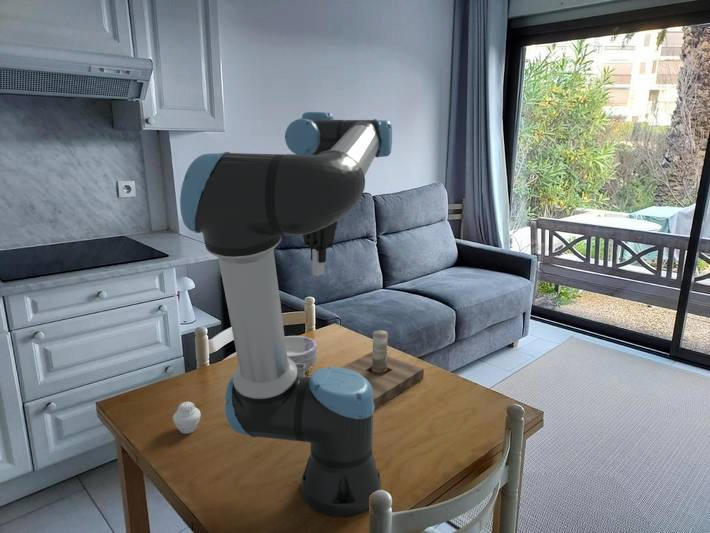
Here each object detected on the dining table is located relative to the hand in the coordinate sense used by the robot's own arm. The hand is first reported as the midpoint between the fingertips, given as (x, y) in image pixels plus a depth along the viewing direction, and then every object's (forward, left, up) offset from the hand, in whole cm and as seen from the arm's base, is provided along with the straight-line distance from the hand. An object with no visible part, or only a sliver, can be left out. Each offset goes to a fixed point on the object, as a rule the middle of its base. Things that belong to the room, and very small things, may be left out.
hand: (318, 274), depth 125 cm
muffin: (-33, +10, -33) cm, 47 cm away
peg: (+16, -8, -32) cm, 37 cm away
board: (+13, -8, -32) cm, 36 cm away
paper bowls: (+4, +15, -33) cm, 36 cm away
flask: (-7, 0, -33) cm, 33 cm away
